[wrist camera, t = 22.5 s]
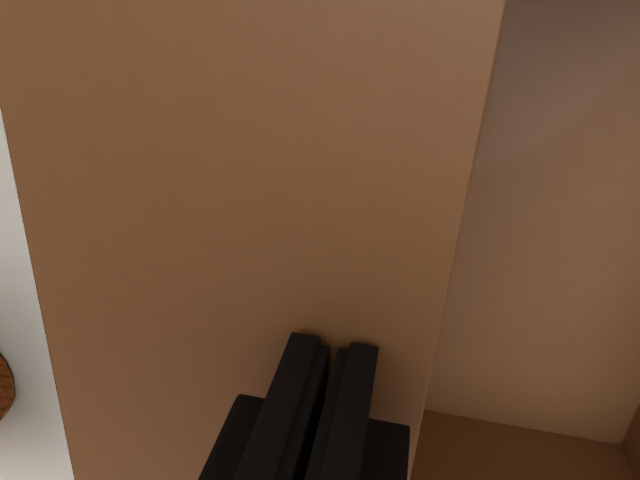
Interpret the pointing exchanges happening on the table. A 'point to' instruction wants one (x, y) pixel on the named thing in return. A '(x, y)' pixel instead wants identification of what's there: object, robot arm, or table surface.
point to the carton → (547, 261)
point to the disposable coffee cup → (5, 389)
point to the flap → (236, 201)
